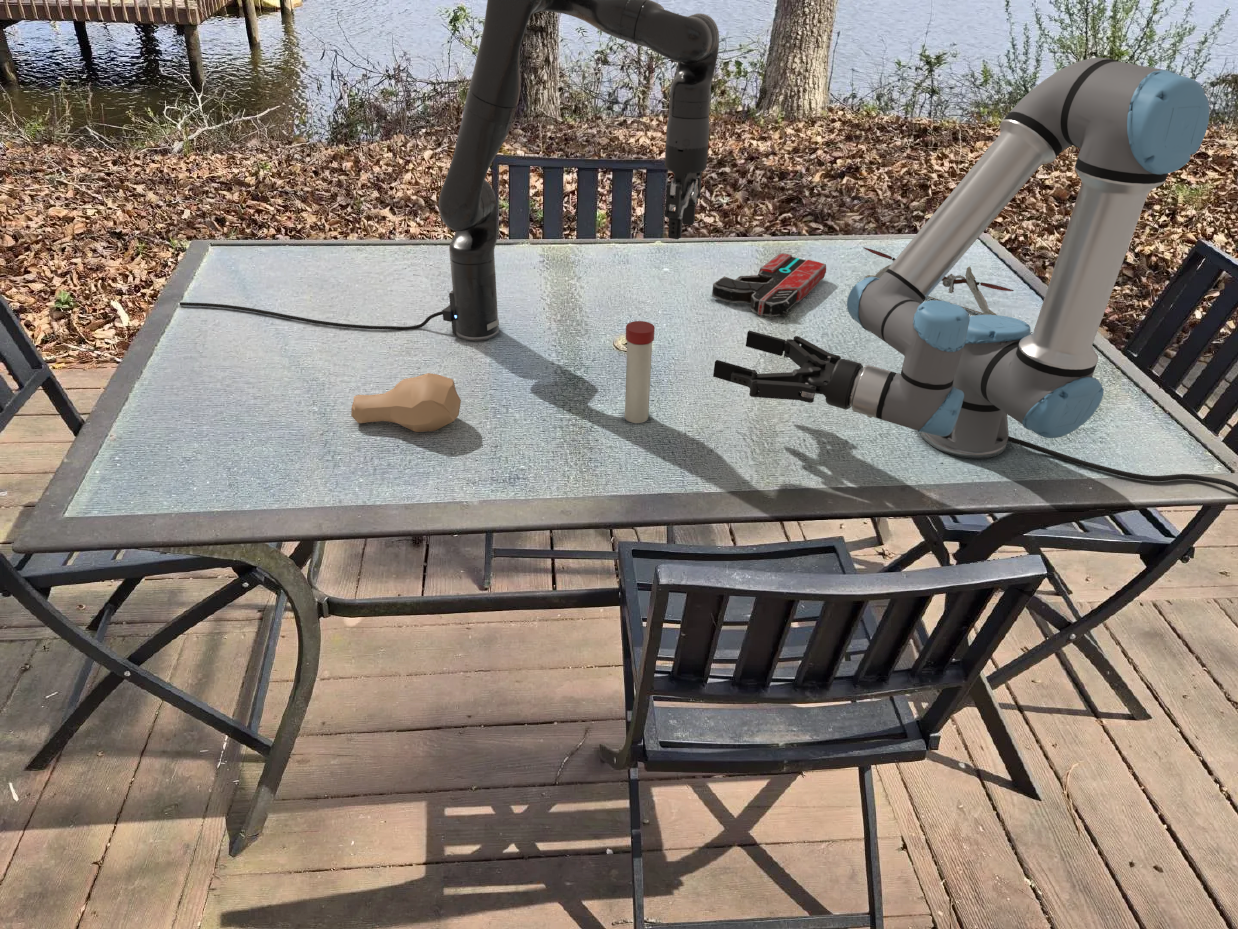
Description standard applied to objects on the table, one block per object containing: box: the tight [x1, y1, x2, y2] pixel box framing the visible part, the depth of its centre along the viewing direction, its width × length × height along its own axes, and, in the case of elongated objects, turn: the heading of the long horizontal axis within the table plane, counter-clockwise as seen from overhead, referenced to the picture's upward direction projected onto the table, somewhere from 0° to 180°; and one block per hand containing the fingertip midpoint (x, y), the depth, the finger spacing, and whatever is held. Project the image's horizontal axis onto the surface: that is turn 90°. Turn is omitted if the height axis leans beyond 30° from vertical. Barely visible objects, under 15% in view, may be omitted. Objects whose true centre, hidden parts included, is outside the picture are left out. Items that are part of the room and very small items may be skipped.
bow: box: [863, 247, 1015, 315], centre depth 212 cm, size 39×2×10 cm, turn 47°
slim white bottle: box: [624, 340, 653, 424], centre depth 159 cm, size 4×4×18 cm
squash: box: [350, 372, 462, 433], centre depth 158 cm, size 11×20×9 cm, turn 90°
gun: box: [711, 252, 827, 318], centre depth 215 cm, size 4×31×19 cm
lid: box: [625, 320, 656, 345], centre depth 154 cm, size 5×5×2 cm
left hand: (681, 231), depth 164 cm, fingers open, 8 cm apart
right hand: (731, 352), depth 145 cm, fingers open, 13 cm apart
